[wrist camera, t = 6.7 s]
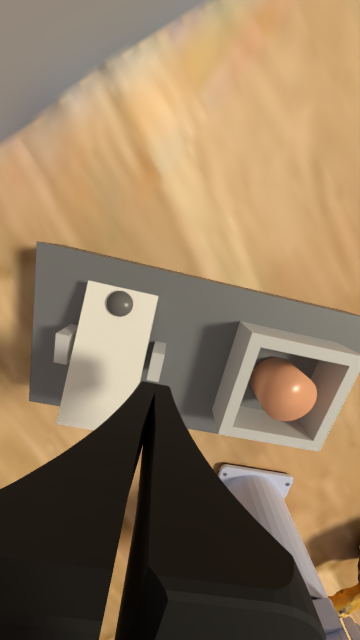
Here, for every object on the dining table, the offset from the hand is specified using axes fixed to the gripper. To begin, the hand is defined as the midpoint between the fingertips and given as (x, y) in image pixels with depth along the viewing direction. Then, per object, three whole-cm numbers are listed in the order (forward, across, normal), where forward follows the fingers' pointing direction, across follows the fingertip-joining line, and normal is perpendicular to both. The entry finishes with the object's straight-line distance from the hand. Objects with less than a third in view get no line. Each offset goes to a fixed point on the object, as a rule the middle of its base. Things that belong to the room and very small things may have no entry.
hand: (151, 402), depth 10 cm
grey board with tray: (+9, -3, 0) cm, 10 cm away
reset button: (+6, -9, 0) cm, 11 cm away
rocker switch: (+4, +3, 0) cm, 5 cm away
